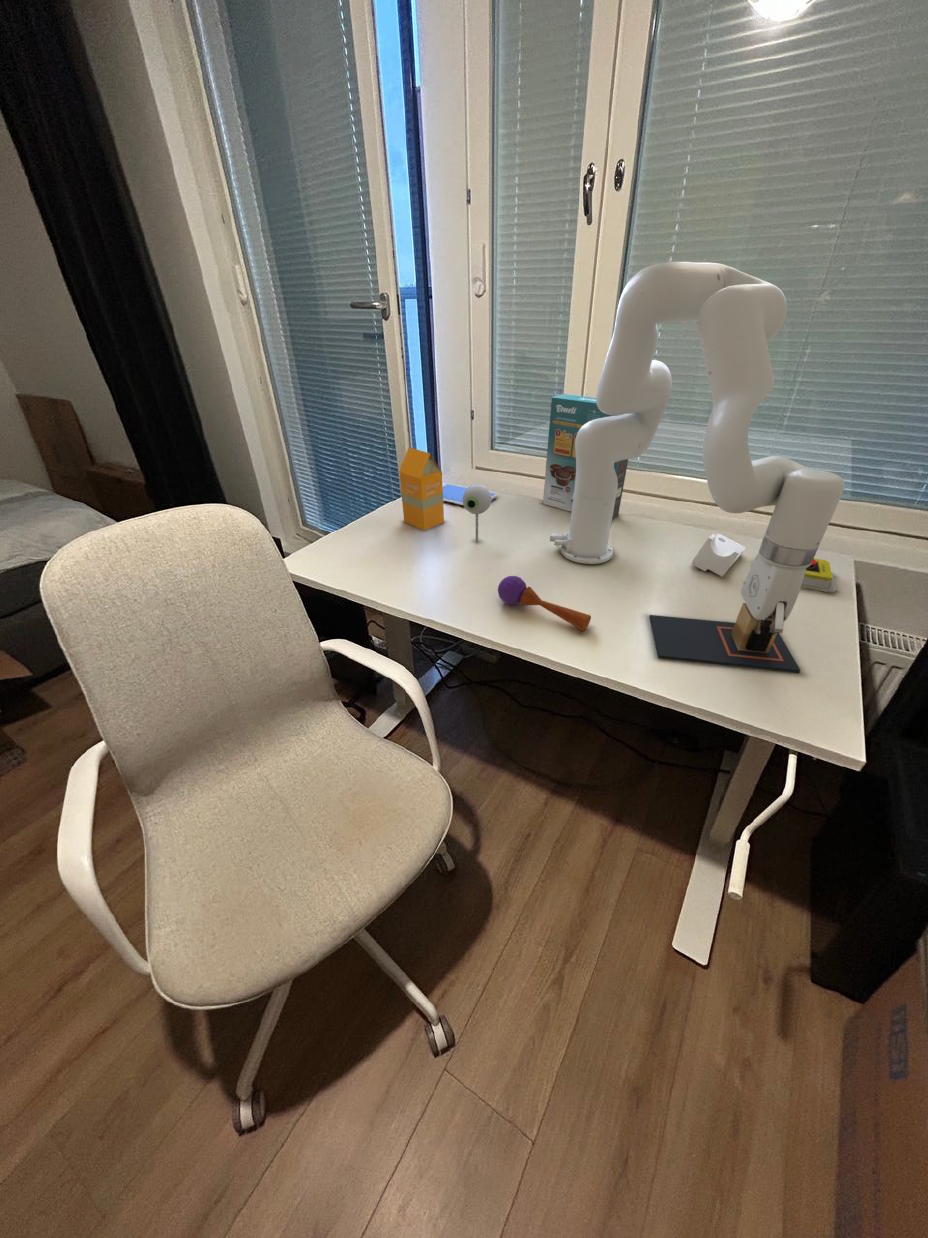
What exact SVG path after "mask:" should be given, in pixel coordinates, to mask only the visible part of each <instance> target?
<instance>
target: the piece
mask: <svg viewBox="0 0 928 1238" xmlns="http://www.w3.org/2000/svg"><path fill="white" fill-rule="evenodd" d="M769 616H772V614H770V615H769ZM734 623H735V625H734V628H733V630H732V633H731V635H732V637H733V640H734V642H735V644H736V646H737V649H738V650H740V651H750V652H760V653H769V650H770V648H771V646H772V644H773V641H774V639H775V637H776V635H777V633H776V634H775V635H774V636H772V638H771V640H770V642H769V645H768V647H767V649H766V651H764V652H761V651H751V650H747V649H746V644H747V642H748V639H749V637H750V634H751V632H752V630H755V628H756V624H757V620H756V619H755V618H754V617H753V616H752V614H751V613H750V611H749V609H748V607H747V605H746V603H745V602H742V603H741V607H740V610H739V611H738V615H737V618H736V620H735V622H734ZM765 625H771V621H764V622H763V626H765ZM763 626H762V627H763Z"/></svg>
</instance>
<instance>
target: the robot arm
mask: <svg viewBox="0 0 928 1238" xmlns="http://www.w3.org/2000/svg"><path fill="white" fill-rule="evenodd" d="M787 315H788V303H787V298H786V296H785V294H784V293H783V291H782V289H780V288H779V287H778V286H776V285H775V284H773V283H771V282H768V281H766V280H763V279H761V278H758V277H757V276H753V275H751V274H749V273H746V272H743V271H741V270H738V269H737V268H734V267H732V266H729V265H727V264H723V263H718V262H693V261H669V262H661V263H660V262H659V263H655V264H652V265H648V266H646V267H644V268H642V269H641V270H640V269H639V271H638V272H636V273H635V274H634V275H633V276H632V277H631V278H629V281H628V282H627V283H626V285H625V286H624V289H623V290H622V292H621V294H620V298H619V301H618V305H617V310H616V315H615V322H614V328H613V333H612V337H611V341H610V344H609V347H608V350H607V354H606V356H605V359H604V360H605V361H604V364H603V368H602V371H601V374H600V378H599V381H598V384H597V389H596V394H595V398H596V403H597V406H598V408H599V410H600V411H601V412H603V413H605V414H608V415H618V416H610V417H604V418H598V419H594V420H592V421H589V422H588V423H586V424H585V425H583V426H582V427H581V428H580V430H579V431H578V433H577V436H576V440H575V453H576V479H575V488H574V497H573V505H572V512H570V514H571V515H570V523H569V529H567V533H564V532H563V533H562V534H558V533H550V534H549V542H553V545H554V546H560V553H561V555H562V556H563V557H564V558H566V559H567V560H569V561H572V562H575V563H578V564H583V565H599V564H603V563H606V562H608V561H609V560H611V559H612V557H613V554H614V549H613V547H612V546H611V545H610V544H609V540H610V535H611V534H610V533H611V528H612V522H613V519H612V517H613V511H614V505H615V499H616V493H617V487H618V479H617V475H616V472H615V469H614V463H615V462H618V461H621V460H626V459H628V460H630V459H634V458H637V457H639V456H641V455H643V454H644V453H645V452H646V451H647V450H648V449H649V447H650V446H651V444H652V442H653V440H654V437H655V435H656V433H657V430H658V428H659V425H660V423H661V420H662V418H663V415H664V413H665V411H666V407H667V406H668V403H669V400H670V398H671V394H672V388H673V387H672V386H673V379H672V378H673V377H672V374H671V371H670V368H669V367H668V366H667V365H666V364H665V363H664V362H662V361H660V360H657V359H654V357H655V354H656V352H657V348H658V344H659V326H658V324H674V323H676V324H677V323H681V324H682V323H695V322H697V331H698V336H699V341H700V346H701V351H702V356H703V360H704V365H705V370H706V374H707V379H708V384H709V388H710V389H709V390H710V394H711V399H712V410H711V413H710V416H709V418H708V421H707V425H706V428H705V434H704V438H703V444H702V463H703V469H704V473H705V477H706V482H707V486H708V490H709V493H710V495H711V497H712V500H713V502H714V503H715V504H716V506H717V507H718V508H719V509H720V510H723V511H724V512H726V513H729V514H744V513H747V512H750V511H753V510H756V509H759V508H762V507H763V508H764V507H771V506H772V507H773V506H774V509H773V511H772V514H771V516H770V519H769V522H768V525H767V527H766V530H765V533H764V535H763V538H762V541H761V544H760V546H759V549H758V552H757V554H756V555H755V557H754V559H753V561H752V563H751V565H750V568H749V570H748V571H747V574H746V576H745V579H744V581H743V584H742V586H741V589H740V593H741V597H742V600H743V601H744V603H746V605H747V607H748V609H749V611H750V613H751V614H752V616H753V617H754V618H755V619H756V620H757V624H756V628H755V630H752V632H751V634H750V637H749V639H748V642H747V644H746V649H747V650H751V651H761V652H764V651H766V649H767V647H768V645H769V642H770V640H771V638H772V636H774V635H775V634H776V633H779V634H781V633H783V631H784V623H785V622H786V621H788V618H789V617H790V615H791V613H792V611H793V609H794V606H795V604H796V602H797V599H798V596H799V594H800V591H801V588H802V587H801V585H802V582H803V579H804V575H805V572H806V568H807V567H809V566H810V565H811V563H812V561H813V558H815V556H816V554H817V551H818V549H819V547H820V545H821V543H822V540H823V538H824V535H825V534H826V532H827V529H828V528H829V525H830V522H831V520H832V519H833V515H834V513H835V512H836V509H837V507H838V505H839V502H840V501H841V498H842V496H843V494H844V491H845V487H846V483H845V481H844V478H842V477H841V476H840V475H838V474H836V473H833V472H830V471H826V470H821V469H815V468H814V469H811V467H807V466H806V465H805V466H804V465H803V464H800V463H798V462H796V461H795V460H792V459H790V458H788V457H785V456H778V455H770V456H765V457H762V458H759V459H758V458H757V459H753V460H752V458H751V457H752V456H751V452H750V448H749V430H750V424H751V421H752V418H753V416H754V414H755V412H756V410H757V409H758V407H759V406H760V405H761V403H762V402H763V401H764V400H765V398H766V397H767V396H768V395H769V394H770V392H772V389H773V387H774V386H775V375H774V371H773V367H772V361H771V357H770V351H769V346H768V342H769V341H770V340H772V339H773V338H775V337H776V336H777V335H778V333H779V332H780V331H781V330H782V327H783V326H784V324H785V322H786V320H787V319H786V318H787ZM622 414H623V415H622ZM770 614H772V616H769V615H770ZM764 621H771V625H765V626H763V622H764ZM762 626H763V627H762Z"/></svg>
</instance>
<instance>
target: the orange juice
mask: <svg viewBox="0 0 928 1238" xmlns="http://www.w3.org/2000/svg"><path fill="white" fill-rule="evenodd" d="M398 472H399V483H400V492H401V494H400V495H401V503H402V513H403V514H402V515H403V522H404V523H406V524H408V525H411V526H413V527H416V528H418V529H420V530H423V531H426V530H429V529H431V528H433V527H436V526H438V525H441V524H443V523H445V513H444V512H445V511H444V501H443V486H444V485H443V471H442V469H441V468H440V467H439V465H438V464H437V463H436V460H435V459H434V457H433V456H432V455H431V453H430V452H427V451H424V450H420V449H416V448H413V447H409V446H408V447H407V450H406V453H405V456H404V458H403V461H402V464H401V466H400V468H399V471H398Z"/></svg>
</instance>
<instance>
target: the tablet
mask: <svg viewBox="0 0 928 1238" xmlns="http://www.w3.org/2000/svg"><path fill="white" fill-rule="evenodd" d="M467 488H468V487H464V486H460V485H456V484H455V485H454V484H449V483H447V484H444V485H443V502H447V503H451V504H455V505H460V506H464V505H463V494H464V492H465V490H466V489H467ZM490 495H491V501H493V500H494V499H496V497H498V494H497V493H495V492H490Z"/></svg>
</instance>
